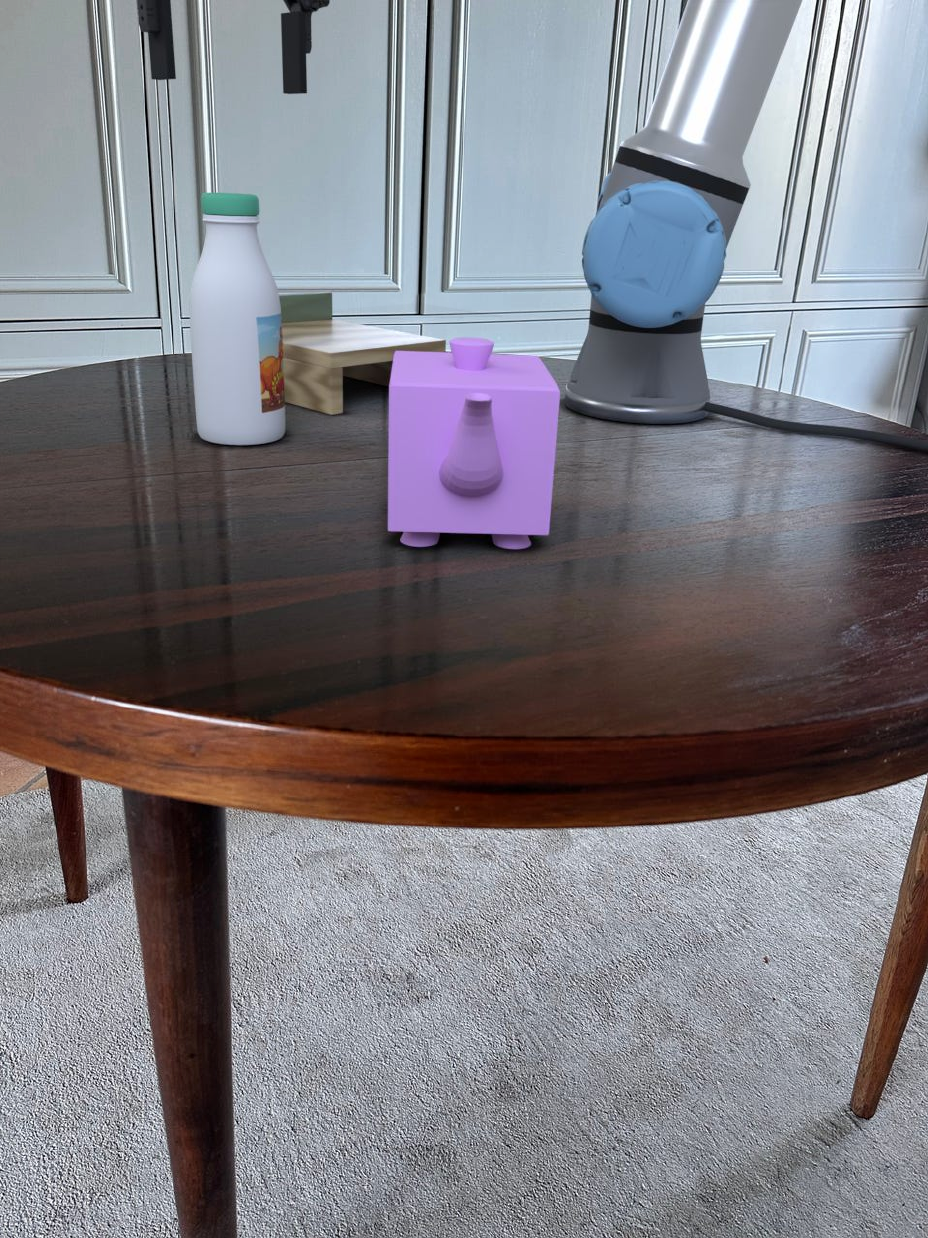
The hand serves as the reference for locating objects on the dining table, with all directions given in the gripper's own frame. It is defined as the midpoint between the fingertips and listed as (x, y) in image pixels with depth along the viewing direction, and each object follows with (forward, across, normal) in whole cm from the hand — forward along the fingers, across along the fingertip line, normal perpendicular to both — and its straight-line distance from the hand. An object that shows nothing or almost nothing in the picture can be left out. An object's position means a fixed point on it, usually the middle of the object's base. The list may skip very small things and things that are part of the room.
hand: (232, 86), depth 88 cm
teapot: (+29, +10, +42) cm, 52 cm away
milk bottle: (+29, +8, +10) cm, 31 cm away
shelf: (+28, -12, -2) cm, 31 cm away
